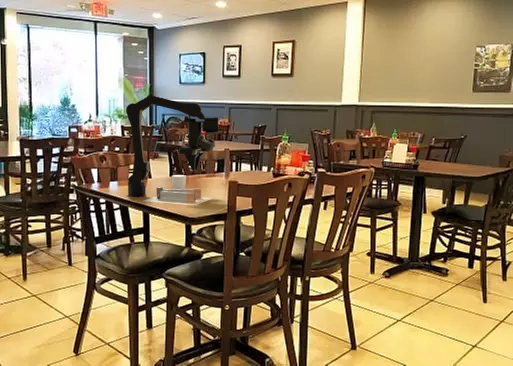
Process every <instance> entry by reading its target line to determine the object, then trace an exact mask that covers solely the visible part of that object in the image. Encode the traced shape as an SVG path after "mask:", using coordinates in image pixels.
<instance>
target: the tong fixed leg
mask: <svg viewBox="0 0 513 366" xmlns="http://www.w3.org/2000/svg"><path fill="white" fill-rule="evenodd" d="M160 200H165V201H178V202H190V203H194V202H196V193H185V192H171V191H160Z"/></svg>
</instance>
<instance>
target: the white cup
mask: <svg viewBox="0 0 513 366" xmlns="http://www.w3.org/2000/svg"><path fill="white" fill-rule="evenodd" d="M186 182H187V175H186V174H185V175H184V174H174V175H171V185H172V189H186V186H187V185H186V184H187V183H186Z"/></svg>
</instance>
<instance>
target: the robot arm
mask: <svg viewBox="0 0 513 366" xmlns="http://www.w3.org/2000/svg"><path fill="white" fill-rule="evenodd" d="M152 105H154V106H157V107H162V108H167V109H170V110H175V111H179V112H180V113H183V114H185V115H187V116H186V117H185V119H184V120H183V123H187V135H185V137H186V139H187V145H185V146H180V147H179V148H178V154H180V155H184V156H185V159H186V160H187V162H188V164H189V167H190V169H191V170H193V171H195V170H198V168H199V165H200V163H201V162H200V161H201V159H202V157H203V156H204V155H206V153H207V152H213V149H214V147H216V143H215V140H214V139H212V138H209V140H208V139H205V137H204V135H202V131H203V132H205V134H219V128H220V127H219V117H217V116H216V117H206V116H205V114H204V113H203V112H202V107H201V105H200V104H198V103H195V102H180V101H176V100H173V99H168V98H164V97H160V96H156V95H153V94H149V95H147V96H146V97H144V98H142V99H140V100H139V101H137V102H135V103H134V102H133V103H129V104H128V105H127V106H126V108H125V112H126V116H127V119H128V122H129V125H130V128H131V137H132V147H133V156H134V157H133V167H132V174H131V175H130V176H129V177H128V178H127V192H128V193H127V195H126V197H131V198H143V197H145V196H147V194H146V185H145V181H144V180H145V179H146V178H147V177H148V175H149V172H150V171H151V169H150V161H149V160H147V161H146V158H145V155H144V154H145V153H144V144H143V134H142V132H143V131H142V118H143V112H144V111H146V110H147V109H148V108H150V107H151V106H152ZM190 117H192V118H190ZM197 118H198V119H199V120H197Z"/></svg>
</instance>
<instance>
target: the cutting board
mask: <svg viewBox="0 0 513 366" xmlns="http://www.w3.org/2000/svg"><path fill="white" fill-rule="evenodd" d="M213 199H214V198H213V197H202V196H201V198H196V202H194V203H190V202H178V201H165V200H160V199H157V196H153V197H150V198H146V199H143V200H142V202H145V203H146V202H148V203H150V202H151V203H162V204H174V205H175V204H176V205H185V206H186V205H187V206H197V205H200V204H202V203H205V202H208V201H210V200H213Z"/></svg>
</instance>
